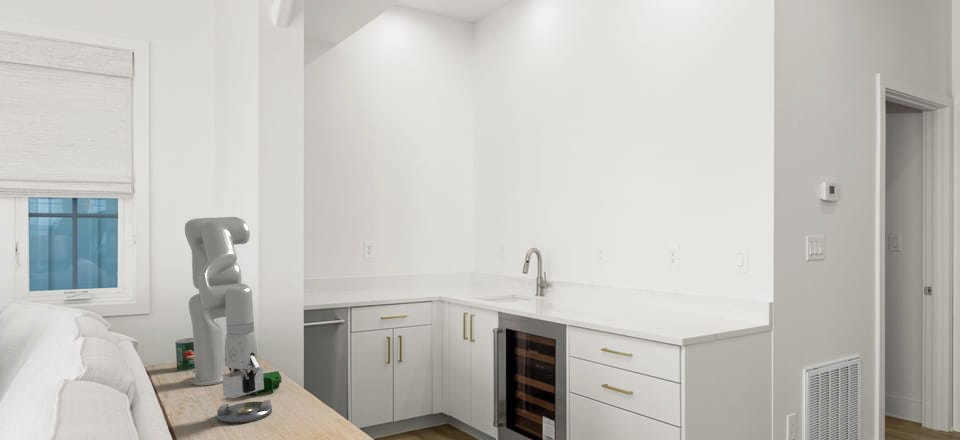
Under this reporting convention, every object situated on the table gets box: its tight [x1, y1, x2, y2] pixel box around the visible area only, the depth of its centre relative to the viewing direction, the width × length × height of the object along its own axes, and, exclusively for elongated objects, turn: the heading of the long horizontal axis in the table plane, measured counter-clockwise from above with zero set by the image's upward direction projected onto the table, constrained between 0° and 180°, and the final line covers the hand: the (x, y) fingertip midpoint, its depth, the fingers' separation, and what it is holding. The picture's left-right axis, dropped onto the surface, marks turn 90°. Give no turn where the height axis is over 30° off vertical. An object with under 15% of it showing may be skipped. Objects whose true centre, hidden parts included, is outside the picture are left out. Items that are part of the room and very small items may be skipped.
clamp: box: [246, 370, 282, 397], centre depth 202 cm, size 12×6×9 cm, turn 115°
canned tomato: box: [175, 337, 195, 372], centre depth 238 cm, size 8×8×11 cm
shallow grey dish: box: [216, 399, 273, 425], centre depth 181 cm, size 15×15×3 cm
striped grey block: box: [222, 368, 264, 399], centre depth 180 cm, size 5×10×6 cm, turn 143°
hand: (243, 389), depth 180 cm, fingers closed on striped grey block, 5 cm apart
